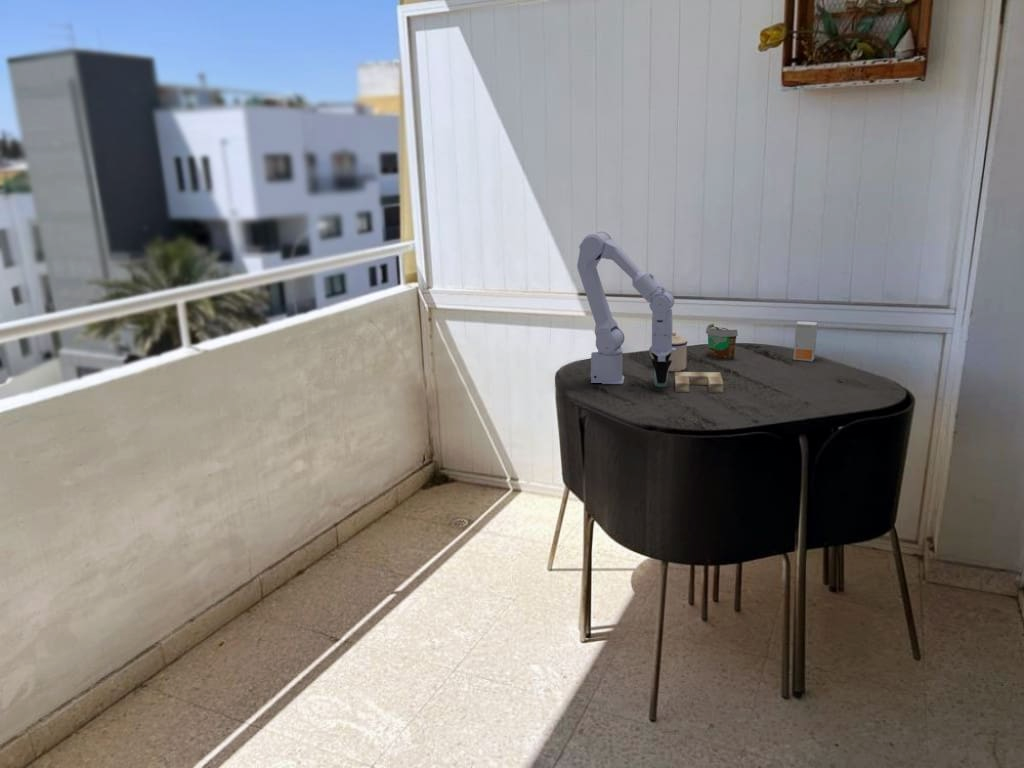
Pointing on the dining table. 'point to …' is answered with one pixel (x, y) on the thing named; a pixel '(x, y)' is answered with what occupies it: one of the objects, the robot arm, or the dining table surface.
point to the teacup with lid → (677, 353)
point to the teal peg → (660, 383)
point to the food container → (721, 342)
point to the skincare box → (805, 341)
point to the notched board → (698, 381)
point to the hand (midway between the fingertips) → (661, 379)
